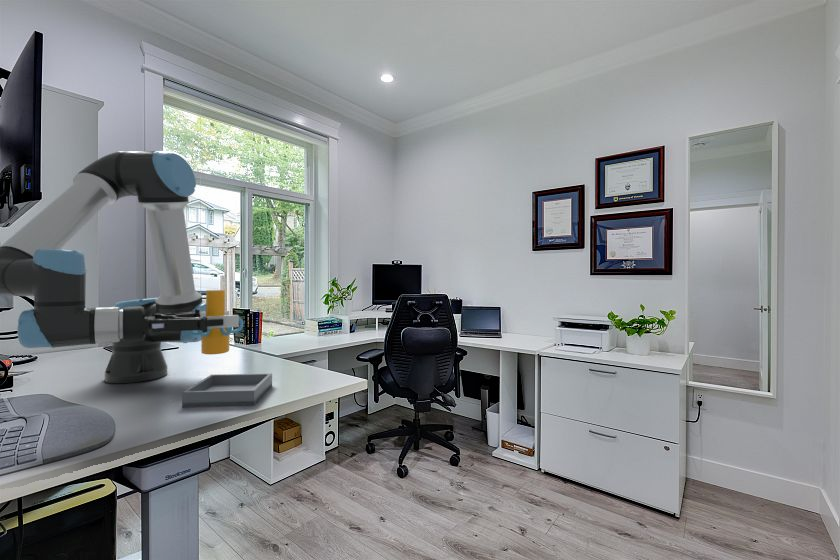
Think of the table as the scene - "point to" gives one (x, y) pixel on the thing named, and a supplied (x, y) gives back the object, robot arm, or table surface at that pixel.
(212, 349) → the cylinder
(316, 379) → the table surface
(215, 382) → the tray
